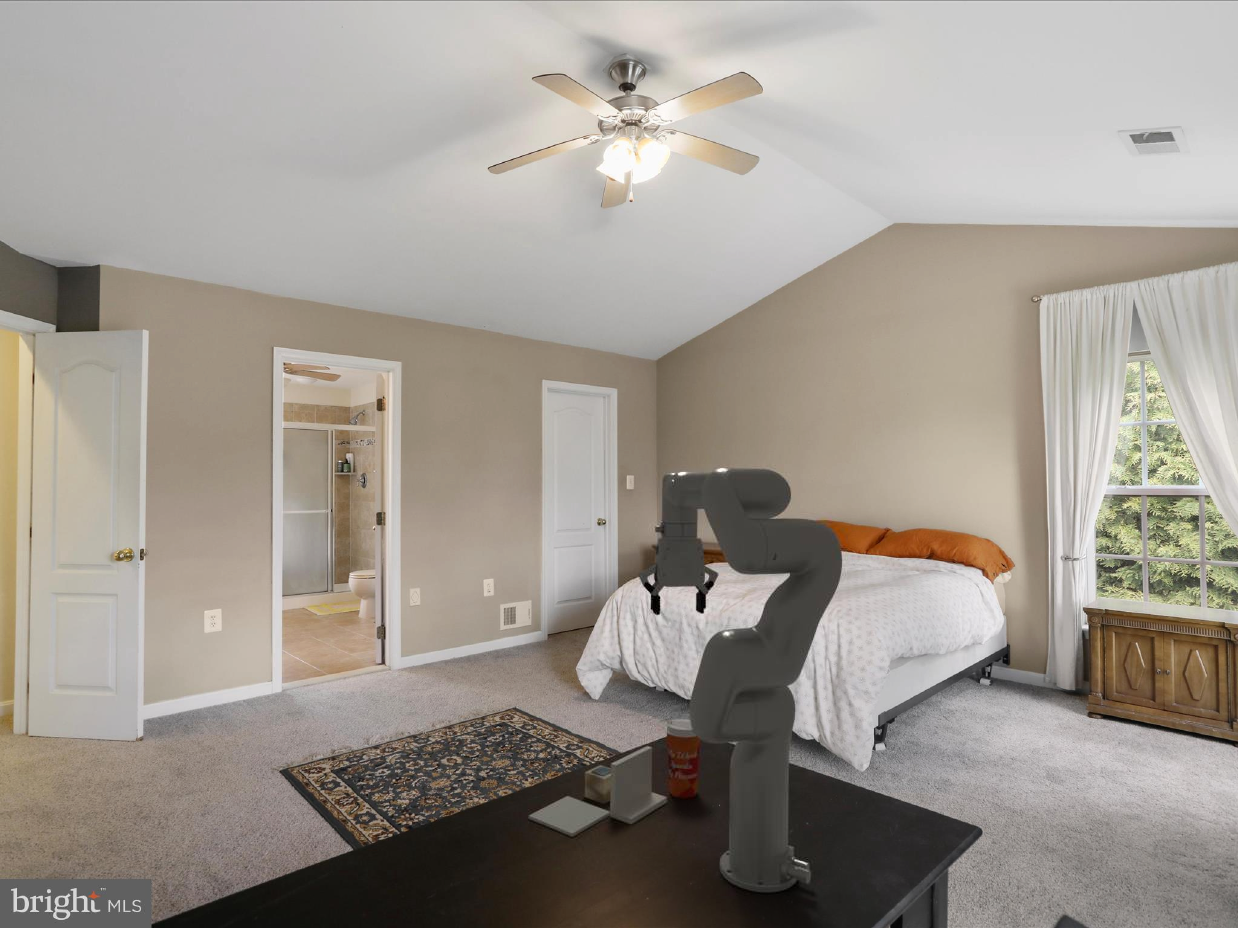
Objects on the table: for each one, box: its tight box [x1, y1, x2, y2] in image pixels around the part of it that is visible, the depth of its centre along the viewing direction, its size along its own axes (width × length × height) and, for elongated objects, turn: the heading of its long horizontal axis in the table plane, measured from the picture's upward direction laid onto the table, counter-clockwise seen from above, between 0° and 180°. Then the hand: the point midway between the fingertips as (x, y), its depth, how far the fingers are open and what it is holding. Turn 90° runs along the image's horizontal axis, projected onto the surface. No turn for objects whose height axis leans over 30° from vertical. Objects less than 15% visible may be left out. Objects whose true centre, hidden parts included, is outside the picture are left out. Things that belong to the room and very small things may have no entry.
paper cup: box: [665, 718, 701, 799], centre depth 148 cm, size 8×8×14 cm
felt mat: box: [528, 795, 610, 838], centre depth 136 cm, size 11×11×1 cm
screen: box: [609, 745, 668, 825], centre depth 140 cm, size 5×12×10 cm, turn 142°
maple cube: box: [584, 764, 611, 805], centre depth 145 cm, size 5×5×5 cm
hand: (678, 613), depth 150 cm, fingers open, 9 cm apart
